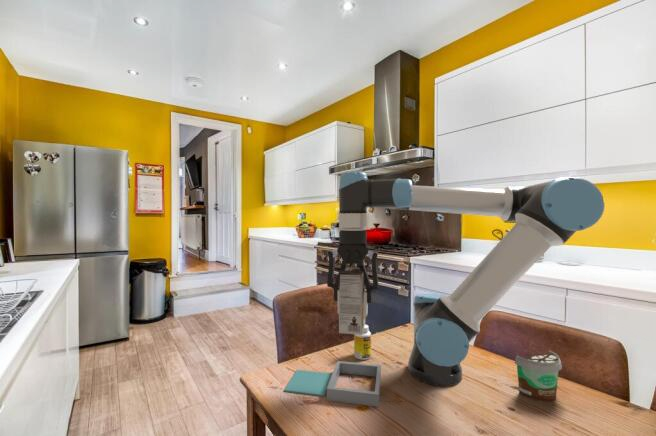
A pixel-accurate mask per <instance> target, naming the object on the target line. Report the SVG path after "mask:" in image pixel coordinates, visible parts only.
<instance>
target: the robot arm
mask: <svg viewBox="0 0 656 436" xmlns="http://www.w3.org/2000/svg"><path fill="white" fill-rule="evenodd" d="M338 187H339V188H338V196H339V199H338V201H339V205H338V207H339V209H338V210H339V211H338V213H339V214H338V228H339V229H340V230H339V232H338V247H337V249H334V250H329V251H328V252H327V255H328V261H329V262H328V272H327V284H326V286H327V287H328V288H331V289H333V300H334V301H335V302H337V315H339V272H340V271H341V270H345V269H346V267H348V265H350V264H354V265H357V267H359V268H360V271H364V283H365V291H364V316H365V317H368V308H369V307H368V305H369V304H371V303H372V300H373V299H372V293H373V292H372V291H375V290H378V289H379V278H378V277H379V276H378V267H377V266H378V264H377V259H378V255H379V253H378V251H373V250H369V248H368V244H367V240H368V239H367V238H368V235H367V234H368V233H367V230H366V228H368V227H367V226H368V224H367V221H368V220H367V217H368V214H367V213H368V212H367V211H368V208H371V209H372V208H373V209H374V208H378V209H379V208H383V209H384V208H386V210H387V209H388V210H401V211H402V210H405V211H419V212H432V213H434V212H435V213H444V214H457V215H459V214H460V215H471V216H483V217H498V218H500V219H501V220H502V221H503V222H504V221H505V222H512V223H513V222H515V224H514V225H513V226H512V227H511V229H509V231H508V232H507V233H506V234H505V235H504V236H503V237H502V238H501V240H500V241H498V243H497V244H496V245H495V246H494V247H493V248H492V249H491V250H490V251H489V252H488V254H487V255H486V256H485V257H484V258H483V259H482V260H481V261H480V263H478V264H477V265H476V267H475V268H474V269H473V270H472V271H471V272H470V273H469V274H468V275H467V277H466V278H464V279H463V281H462V282H461V283H460V284H459V285H458V287H457V288H456V289H455V290H454V291H453V292H452V293H451V294H450V295H446V294H445V295H444V294H435V293H418V294H417V295H414V299H413V347H412V350H411V352H410V355H409V358H408V367H407V368H408V372H409V373H410V375H411V376H412V377H414V378H415V379H416V380H418V381H420V382H422V383H424V384H425V383H426V384H429V385H433V386H439V387H448V386H453V385H458V383H460V382H461V381H462V380H463V368H462V365H461V363H462V362H463V361H464V360H465V359H466V357H467V356H468V352H469V350H470V343H471V342H472V340H473V339H474V338H475V337H476V336H477V335H478V334H479V333H480V332H481V330H480V329H481V328H480V321H481V320H482V319H483V318H484V317H485V316H486V315H487V314H488V313H489V312H490V311H491V310H492V309H493V308H494V307H495V306H496V305H497V304H498V302H499V301H500V300H501V299H503V297H504V296H505V295H506V294H507V293H508V292H509V291H510V289H512V288H513V287H514V286H515V285H516V283H517V282H519V280H520V279H521V278H522V277H523V276H524V275H526V273H527V272H528V271H529V270H530V269H531V268H532V267H533V266H534V265H535V264H536V263H537V262H538V261H539V259H541V258H542V257H543V255H544V254H545V253H546V252H547V251H548V250H549V249H550V248H551V247H557V246H563V245H564V244H565V243H566V242H568V240H569V239H571V238H572V236H574V234H575V233H576V232H577V231H578V232H579V231H580V232H581V231H584V230H587V229H589V228H591V227H593V226H594V225H595V224H597V223H598V222H599V220H600V219H601V218H602V217H603V215H604V211H605V202H604V196H603V194H602V192H601V189H599V188H598V186H596V185H595V184H594V183H592V182H591V181H590V180H588V179H585V178H581V177H575V176H563V177H557V178H555V179H553V180H549V181H545V182H542V183H541V182H540V183H537V184H533V185H525V186H506V187H505V188H503V189H491V188H490V189H486V188H470V187H452V186H451V187H449V186H433V185H432V186H431V185H414V184H413V181H412V180H411V179H408V178H400V177H399V178H390V179H369V178H368V175H367V173H366V172H363V171H347V172H346V171H345V172H344V173H342V174H341V175H340V176H339V185H338ZM338 255H339V257H340V258H341V260H342V261H341V264H340V268H339V270H338V273H337V277H336V279H334V278H335V267H336V258H337V257H338ZM367 255H368V258H369V259H370V260H371V262H370V264H371V275H372V283H371V281H370V278H369V275H368V272H367V269H366V266H365V262H364V259H365V258H366V256H367ZM334 280H335V282H334Z"/></svg>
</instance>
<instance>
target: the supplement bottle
mask: <svg viewBox="0 0 656 436" xmlns="http://www.w3.org/2000/svg"><path fill="white" fill-rule="evenodd" d="M353 338H354V339H353V340H354V341H353V343H354V344H353V345H354V346H353V347H354V349H353V353H354V355H353V356H354V357H355V359H358V360H362V361H363V360H369V359H370V358H371V356H372V332H370V329H369V325H368V324H366V323H365V326H364V330H363V333H362V335H358V334H353Z"/></svg>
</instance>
